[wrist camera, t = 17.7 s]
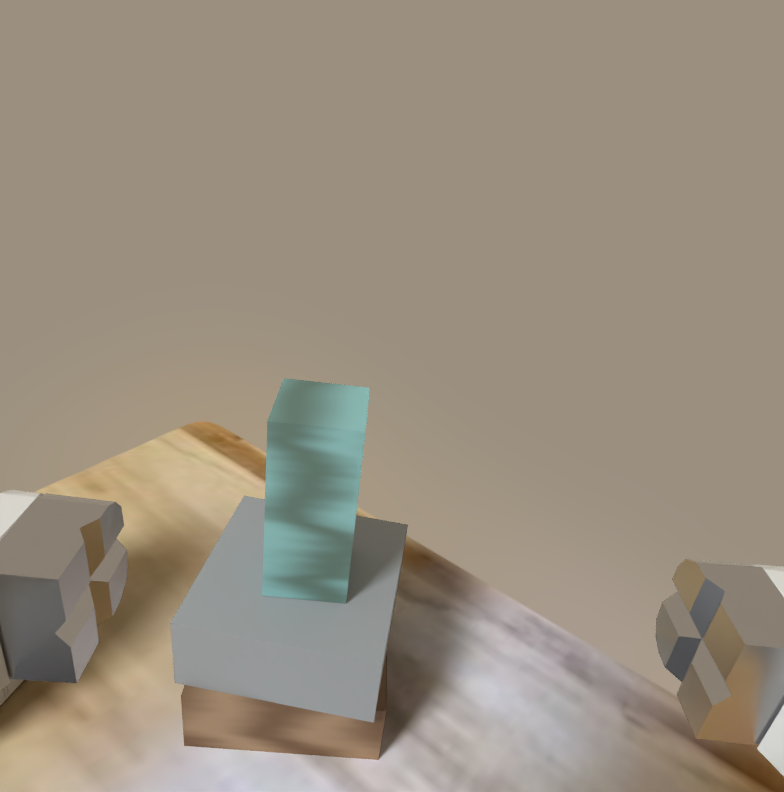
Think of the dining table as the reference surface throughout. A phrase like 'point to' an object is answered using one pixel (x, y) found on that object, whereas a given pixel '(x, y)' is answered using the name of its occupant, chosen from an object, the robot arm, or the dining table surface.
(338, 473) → the teal block
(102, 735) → the dining table surface
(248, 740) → the tower base
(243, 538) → the tower top
